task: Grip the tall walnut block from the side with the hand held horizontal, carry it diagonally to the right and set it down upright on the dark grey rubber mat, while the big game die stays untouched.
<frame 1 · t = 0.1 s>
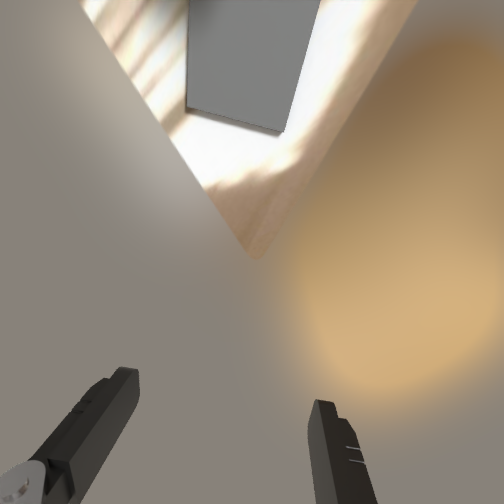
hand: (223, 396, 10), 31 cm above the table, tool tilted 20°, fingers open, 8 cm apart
rubber mat: (246, 56, 27), on the table
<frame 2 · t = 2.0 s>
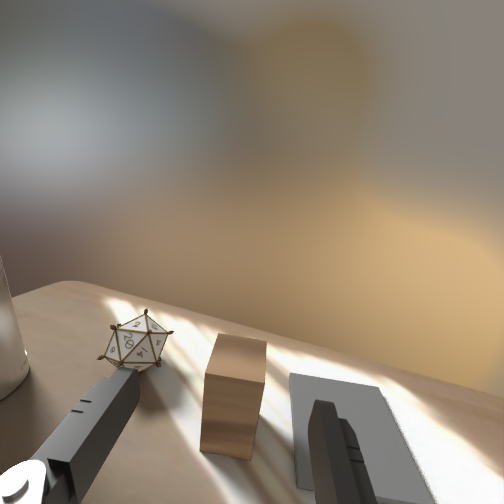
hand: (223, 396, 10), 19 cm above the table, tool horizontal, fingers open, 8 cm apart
game die: (139, 367, 34), on the table
walnut block: (229, 428, 27), on the table
rubber mat: (344, 430, 29), on the table
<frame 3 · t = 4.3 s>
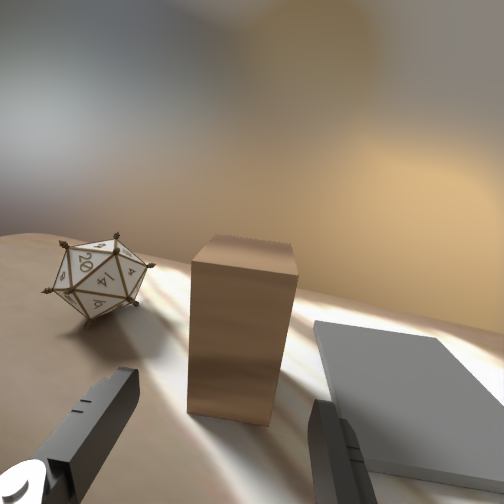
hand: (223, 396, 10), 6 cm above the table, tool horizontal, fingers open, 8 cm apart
game die: (107, 312, 25), on the table
walnut block: (233, 384, 18), on the table
rubber mat: (403, 388, 20), on the table
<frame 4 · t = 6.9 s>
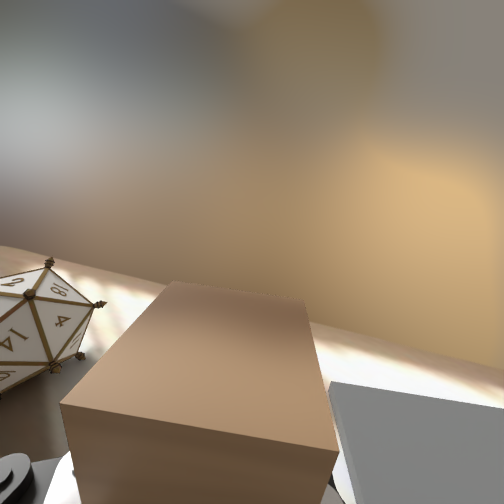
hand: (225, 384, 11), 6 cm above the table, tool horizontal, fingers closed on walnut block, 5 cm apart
game die: (36, 372, 17), on the table
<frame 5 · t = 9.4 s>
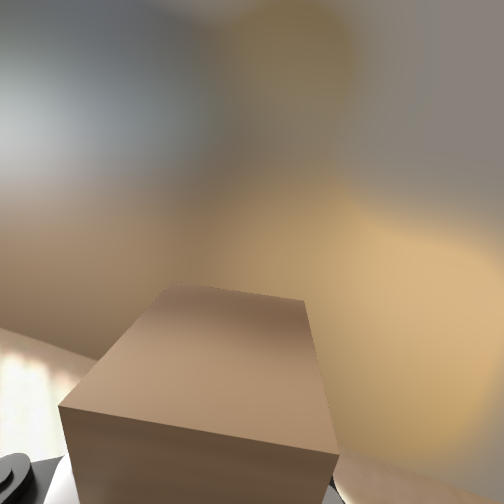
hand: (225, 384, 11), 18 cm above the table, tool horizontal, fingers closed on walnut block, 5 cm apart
when the fingers open (8 cm above the table, at t = 12.0 s): walnut block drops 1 cm, resting on rubber mat.
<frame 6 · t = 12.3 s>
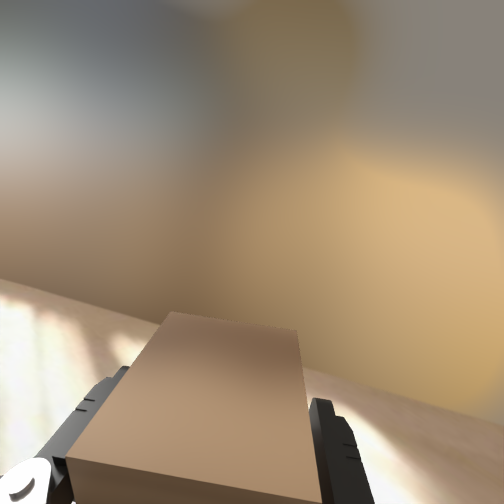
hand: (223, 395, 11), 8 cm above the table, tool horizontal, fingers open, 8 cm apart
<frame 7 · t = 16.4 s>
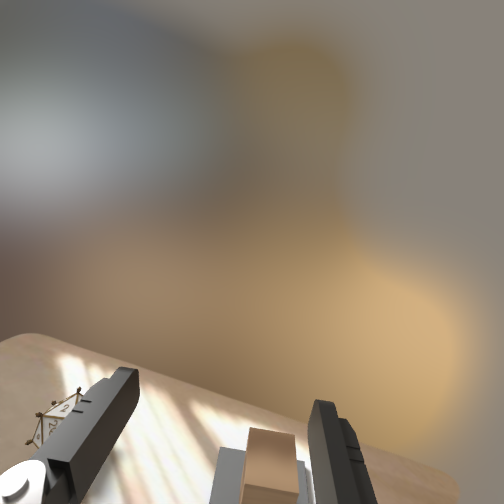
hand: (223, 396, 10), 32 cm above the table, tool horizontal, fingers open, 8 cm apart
game die: (72, 443, 35), on the table
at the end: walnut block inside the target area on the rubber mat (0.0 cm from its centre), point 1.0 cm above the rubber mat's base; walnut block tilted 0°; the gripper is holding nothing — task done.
